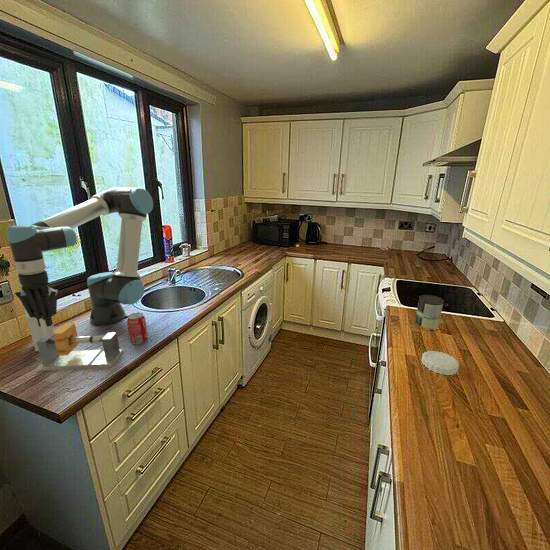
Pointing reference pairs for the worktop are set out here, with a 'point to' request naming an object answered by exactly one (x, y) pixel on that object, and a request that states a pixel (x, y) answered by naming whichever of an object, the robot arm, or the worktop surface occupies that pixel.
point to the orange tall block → (65, 339)
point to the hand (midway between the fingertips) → (48, 333)
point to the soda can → (137, 328)
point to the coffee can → (429, 311)
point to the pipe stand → (79, 353)
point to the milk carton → (35, 330)
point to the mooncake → (440, 362)
